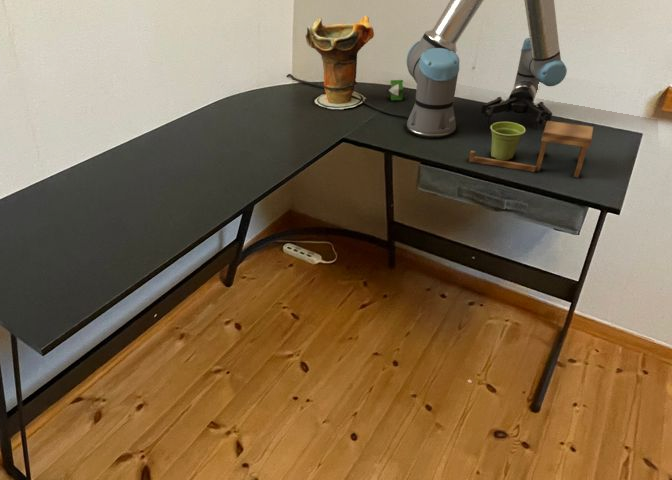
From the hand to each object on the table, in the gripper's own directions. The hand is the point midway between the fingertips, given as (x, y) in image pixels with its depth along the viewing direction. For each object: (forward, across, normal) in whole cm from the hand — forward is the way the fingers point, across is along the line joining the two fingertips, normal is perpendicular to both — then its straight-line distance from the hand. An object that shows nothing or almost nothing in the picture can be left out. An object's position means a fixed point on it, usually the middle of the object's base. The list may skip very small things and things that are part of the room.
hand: (511, 122), depth 177 cm
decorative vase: (-17, +61, -7) cm, 64 cm away
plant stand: (+8, -7, -7) cm, 13 cm away
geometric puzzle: (-26, +42, -7) cm, 50 cm away
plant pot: (+8, 0, -7) cm, 11 cm away
